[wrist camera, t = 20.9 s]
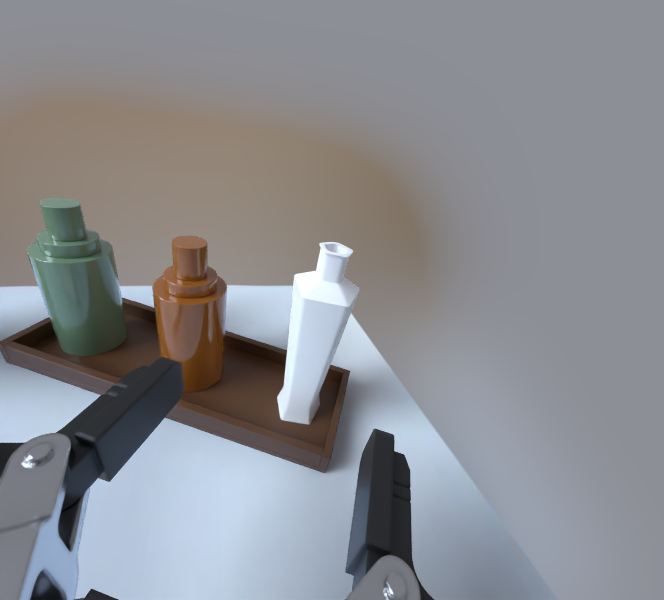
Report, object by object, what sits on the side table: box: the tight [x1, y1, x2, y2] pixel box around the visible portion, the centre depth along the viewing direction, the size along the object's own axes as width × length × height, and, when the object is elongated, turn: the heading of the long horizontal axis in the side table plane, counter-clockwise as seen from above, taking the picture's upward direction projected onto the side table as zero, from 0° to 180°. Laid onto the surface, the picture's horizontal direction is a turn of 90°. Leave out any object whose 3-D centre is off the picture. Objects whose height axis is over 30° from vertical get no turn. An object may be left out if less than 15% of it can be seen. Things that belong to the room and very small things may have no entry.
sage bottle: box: [27, 198, 128, 356], centre depth 24 cm, size 5×5×12 cm
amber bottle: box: [152, 236, 227, 393], centre depth 23 cm, size 5×5×12 cm
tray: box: [0, 298, 350, 473], centre depth 26 cm, size 27×9×2 cm, turn 78°
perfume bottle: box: [277, 242, 360, 424], centre depth 22 cm, size 5×4×15 cm
